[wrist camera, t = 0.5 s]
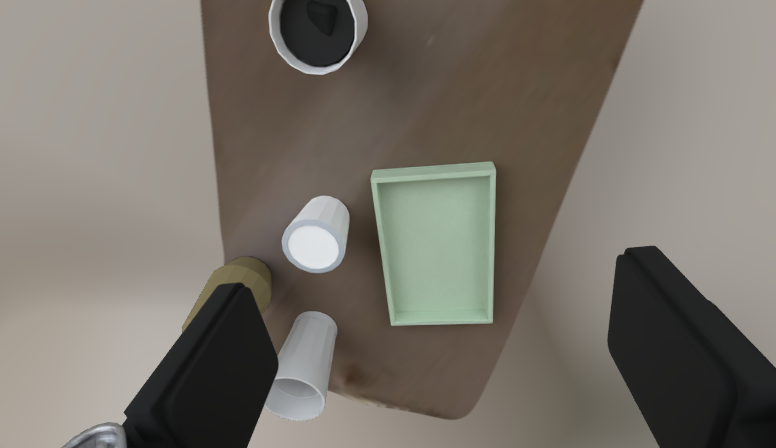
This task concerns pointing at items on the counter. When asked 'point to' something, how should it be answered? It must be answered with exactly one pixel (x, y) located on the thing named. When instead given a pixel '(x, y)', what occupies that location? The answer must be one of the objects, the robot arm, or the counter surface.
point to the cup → (304, 368)
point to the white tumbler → (317, 32)
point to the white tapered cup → (318, 235)
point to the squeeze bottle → (238, 271)
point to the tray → (437, 242)
